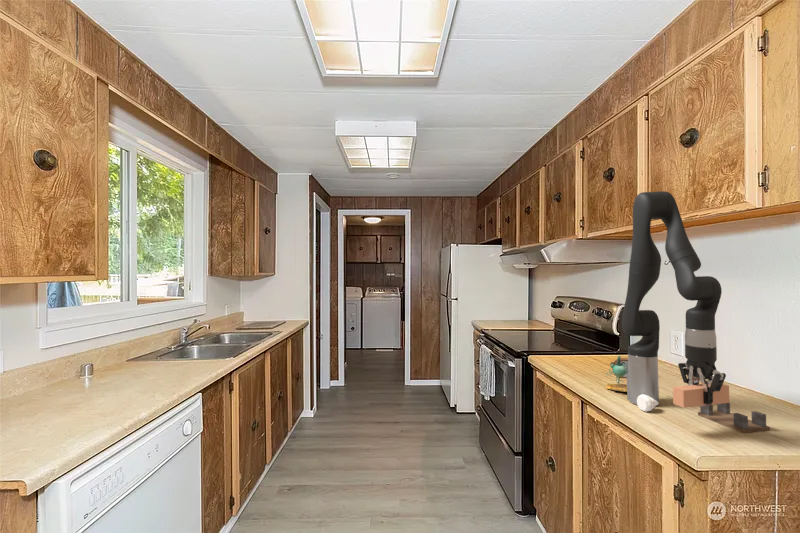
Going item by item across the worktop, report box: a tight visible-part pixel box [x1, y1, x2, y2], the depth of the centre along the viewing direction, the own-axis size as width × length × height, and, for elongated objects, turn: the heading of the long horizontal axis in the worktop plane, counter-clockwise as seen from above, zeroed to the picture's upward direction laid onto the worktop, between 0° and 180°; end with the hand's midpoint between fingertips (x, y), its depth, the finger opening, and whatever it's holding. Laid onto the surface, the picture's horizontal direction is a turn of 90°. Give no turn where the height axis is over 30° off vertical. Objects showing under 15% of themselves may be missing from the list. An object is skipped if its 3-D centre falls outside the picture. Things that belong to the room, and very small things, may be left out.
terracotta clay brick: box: [672, 383, 730, 409], centre depth 120 cm, size 4×16×5 cm, turn 101°
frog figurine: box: [605, 355, 629, 393], centre depth 161 cm, size 10×18×15 cm, turn 175°
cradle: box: [697, 402, 771, 434], centre depth 126 cm, size 15×9×4 cm, turn 10°
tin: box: [611, 357, 629, 379], centre depth 179 cm, size 15×3×8 cm, turn 81°
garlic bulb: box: [637, 394, 659, 413], centre depth 138 cm, size 6×6×5 cm
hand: (701, 401), depth 120 cm, fingers closed on terracotta clay brick, 3 cm apart
